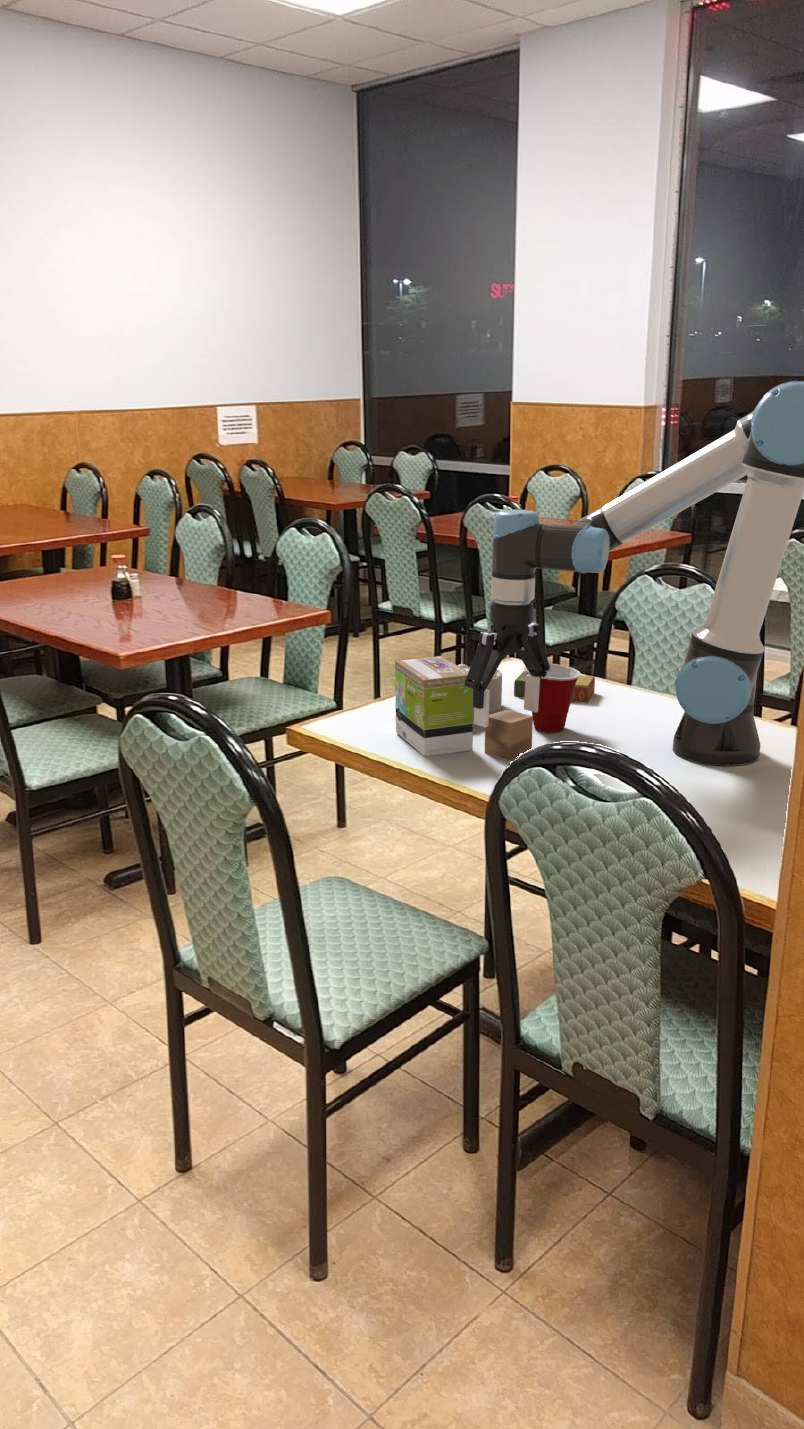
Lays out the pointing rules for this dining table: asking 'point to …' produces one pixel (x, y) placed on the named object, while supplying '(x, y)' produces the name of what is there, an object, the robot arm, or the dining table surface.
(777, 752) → the dining table surface
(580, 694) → the carton
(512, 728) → the brown box
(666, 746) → the dining table surface
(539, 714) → the plastic cup
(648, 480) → the robot arm
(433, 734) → the tea box
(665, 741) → the dining table surface
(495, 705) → the lumpy-topped squat cylinder
